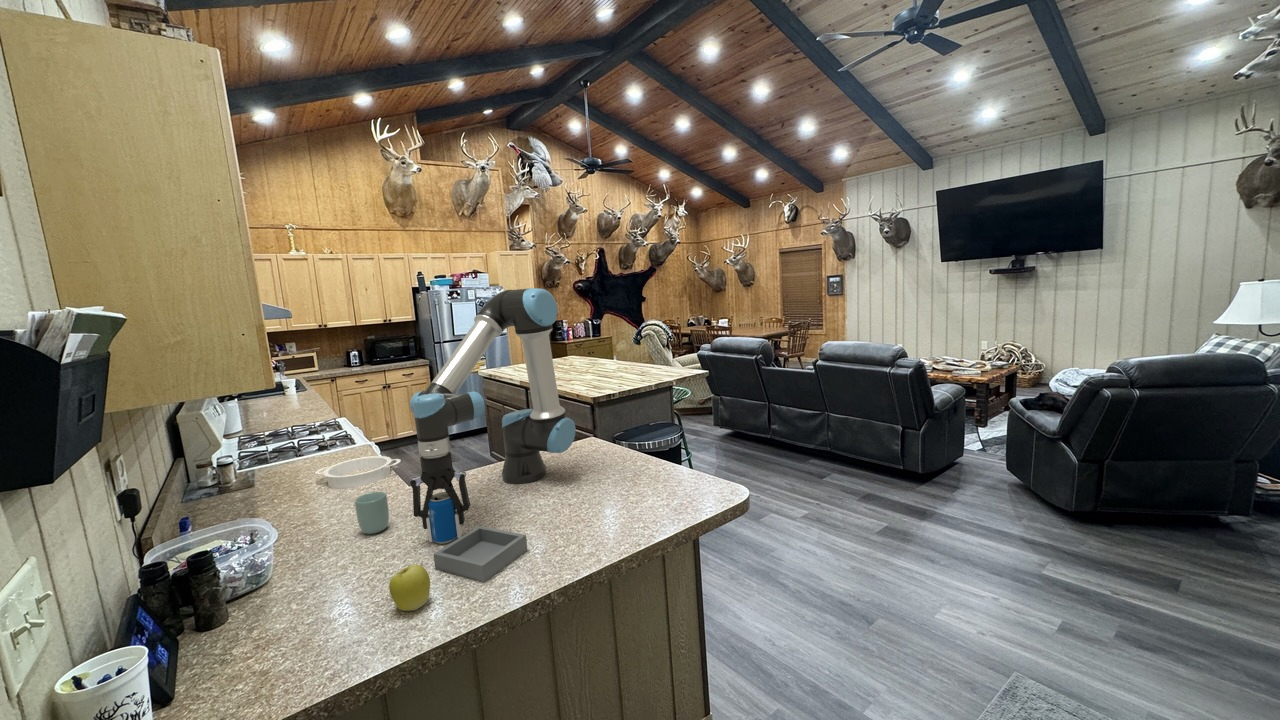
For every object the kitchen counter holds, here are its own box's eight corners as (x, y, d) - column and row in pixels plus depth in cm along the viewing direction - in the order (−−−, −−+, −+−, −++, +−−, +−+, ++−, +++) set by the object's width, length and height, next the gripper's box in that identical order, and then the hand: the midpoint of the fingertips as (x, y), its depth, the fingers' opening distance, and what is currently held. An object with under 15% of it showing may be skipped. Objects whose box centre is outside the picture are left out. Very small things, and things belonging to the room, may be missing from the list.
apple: (444, 594, 110) (425, 558, 107) (410, 623, 105) (389, 587, 102) (427, 582, 116) (408, 548, 112) (394, 609, 110) (373, 574, 107)
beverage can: (428, 541, 137) (422, 498, 135) (449, 531, 142) (444, 489, 140) (443, 547, 133) (437, 503, 132) (464, 536, 139) (459, 493, 137)
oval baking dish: (409, 464, 204) (408, 452, 204) (392, 484, 182) (391, 471, 182) (331, 472, 200) (329, 460, 199) (304, 494, 178) (302, 481, 177)
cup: (396, 525, 148) (392, 492, 147) (376, 538, 141) (371, 503, 140) (374, 523, 151) (369, 490, 149) (353, 536, 143) (348, 501, 142)
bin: (481, 540, 136) (479, 525, 136) (527, 550, 129) (525, 534, 129) (435, 569, 123) (433, 553, 122) (484, 582, 116) (482, 565, 115)
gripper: (391, 463, 129) (403, 549, 133) (472, 454, 132) (481, 539, 135) (400, 453, 136) (411, 536, 140) (476, 445, 139) (485, 526, 143)
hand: (445, 537), depth 138 cm, fingers closed on beverage can, 6 cm apart
